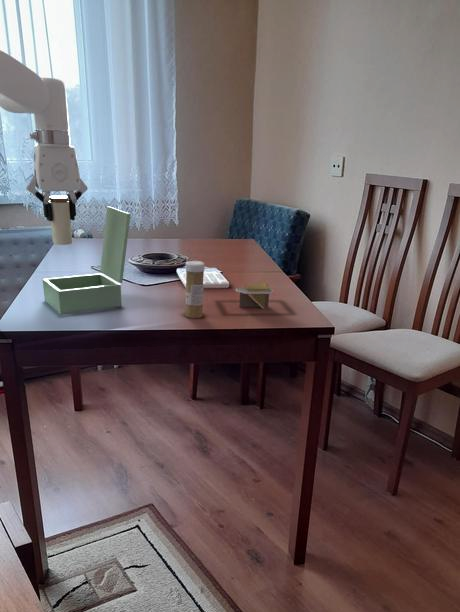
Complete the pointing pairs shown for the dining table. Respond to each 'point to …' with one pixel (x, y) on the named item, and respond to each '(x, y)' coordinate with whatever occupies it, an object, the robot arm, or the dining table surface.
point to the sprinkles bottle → (194, 289)
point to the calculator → (207, 278)
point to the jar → (61, 220)
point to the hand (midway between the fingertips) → (60, 219)
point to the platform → (254, 295)
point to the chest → (82, 293)
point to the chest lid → (115, 243)
